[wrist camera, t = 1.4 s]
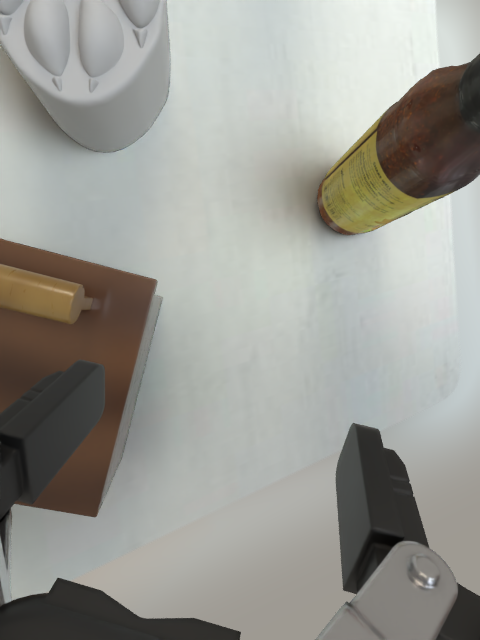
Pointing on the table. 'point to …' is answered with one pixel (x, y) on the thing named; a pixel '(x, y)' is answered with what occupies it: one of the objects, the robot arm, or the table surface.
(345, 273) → the table surface
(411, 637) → the robot arm
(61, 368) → the lid
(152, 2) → the lumpy-topped squat cylinder
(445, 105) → the sauce bottle
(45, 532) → the table surface
